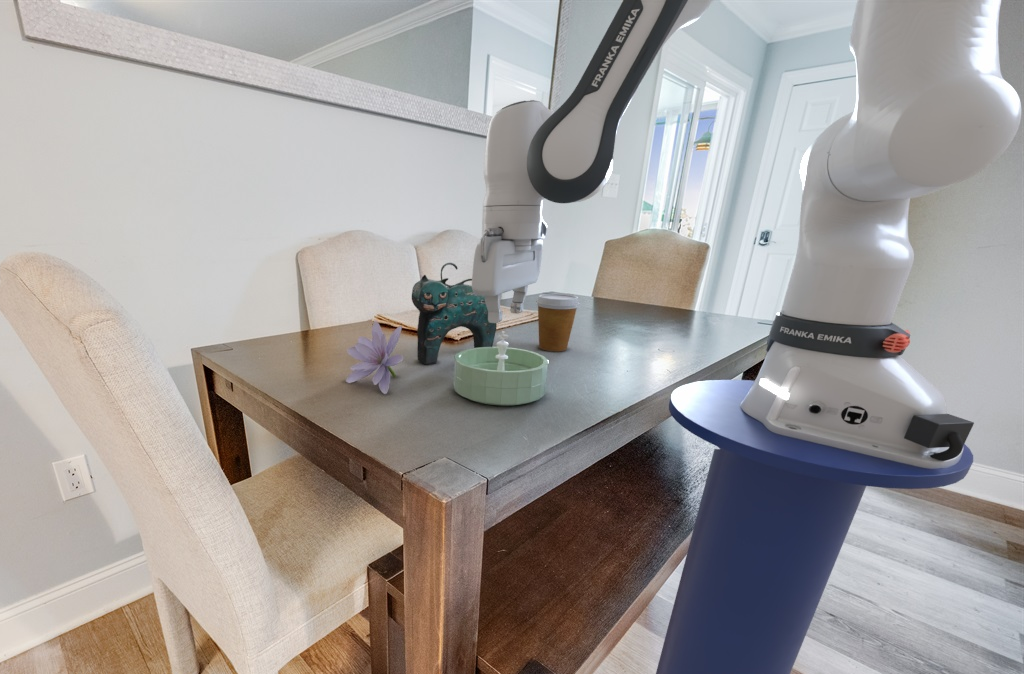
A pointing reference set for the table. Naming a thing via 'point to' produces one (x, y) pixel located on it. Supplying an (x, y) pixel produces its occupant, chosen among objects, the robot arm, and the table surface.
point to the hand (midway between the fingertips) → (506, 317)
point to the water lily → (375, 357)
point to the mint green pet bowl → (500, 376)
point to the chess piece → (502, 351)
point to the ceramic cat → (448, 315)
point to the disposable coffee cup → (555, 320)
